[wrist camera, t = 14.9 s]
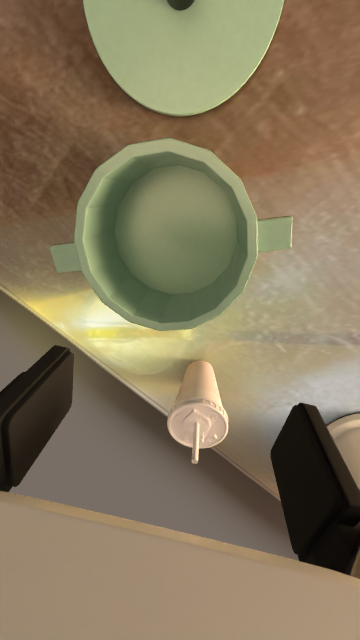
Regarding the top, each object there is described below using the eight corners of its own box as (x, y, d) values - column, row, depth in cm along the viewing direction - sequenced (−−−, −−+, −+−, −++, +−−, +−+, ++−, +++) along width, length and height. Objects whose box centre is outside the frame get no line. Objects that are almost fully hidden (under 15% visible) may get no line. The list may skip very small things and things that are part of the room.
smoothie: (221, 349, 34) (229, 438, 21) (225, 389, 37) (235, 489, 24) (172, 353, 35) (153, 441, 22) (180, 392, 38) (166, 490, 25)
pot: (269, 291, 30) (290, 322, 23) (104, 305, 33) (73, 337, 25) (271, 141, 24) (300, 114, 17) (70, 173, 27) (16, 163, 20)
